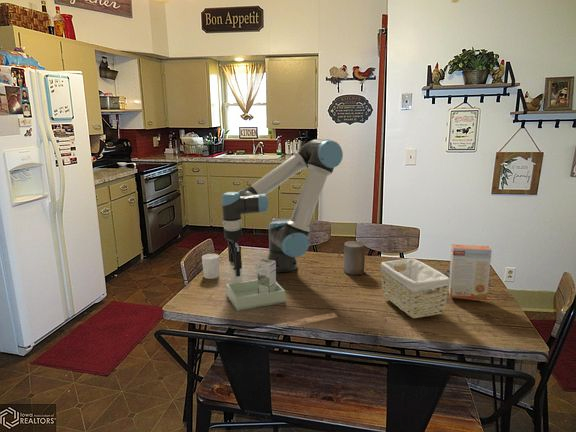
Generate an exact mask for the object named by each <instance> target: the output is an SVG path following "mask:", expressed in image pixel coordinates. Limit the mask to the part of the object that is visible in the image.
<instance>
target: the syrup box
mask: <svg viewBox="0 0 576 432" xmlns="http://www.w3.org/2000/svg"><path fill="white" fill-rule="evenodd" d="M256 266H257V267H256V271H257V273H256V275H257V279H258V294H262V293H268V292H274V291H276V282H277V280H276V279H277V274H276V273H277V272H276V262H275V261H274V260H267V258H263V259H261V260H259V261H257V263H256Z"/></svg>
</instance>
